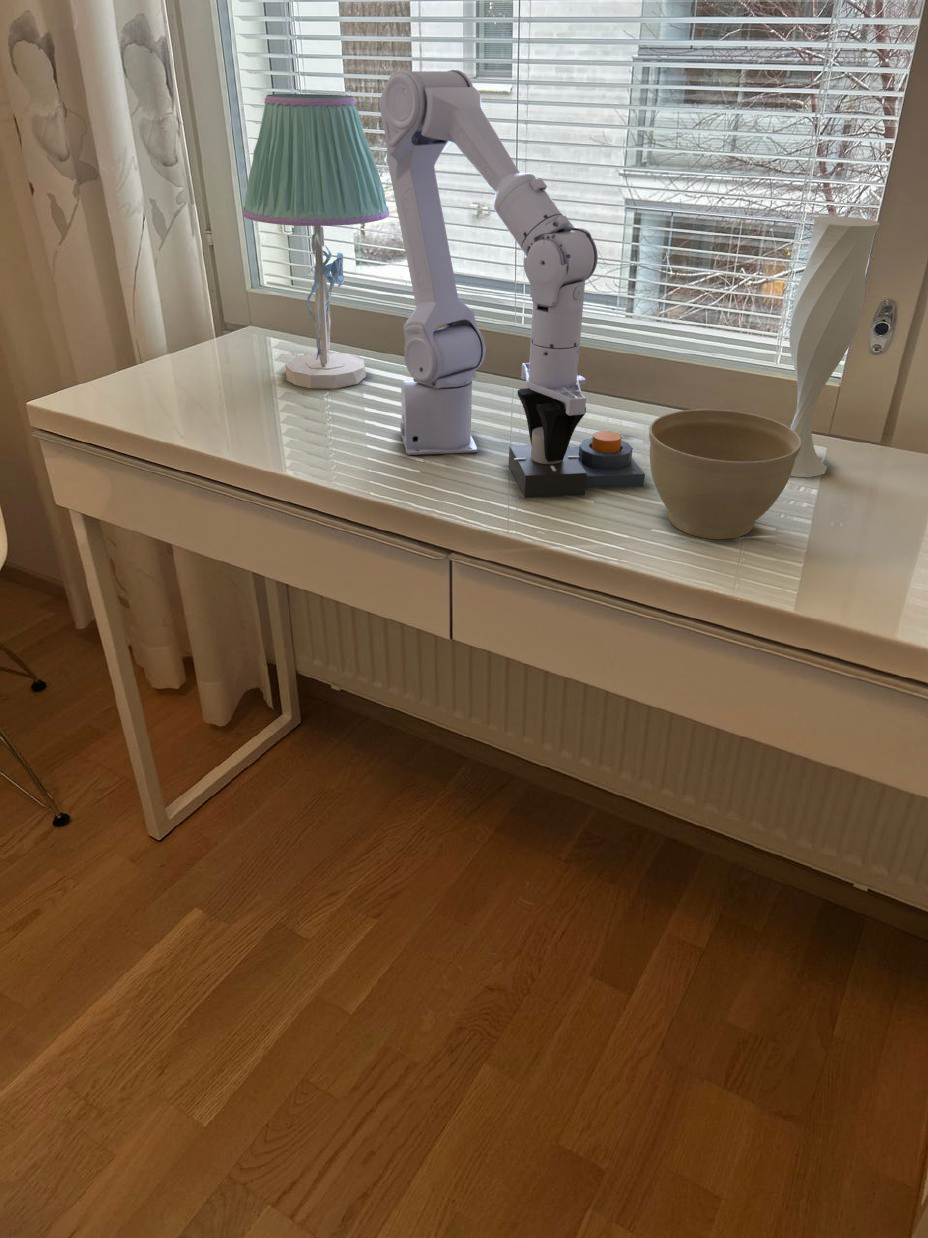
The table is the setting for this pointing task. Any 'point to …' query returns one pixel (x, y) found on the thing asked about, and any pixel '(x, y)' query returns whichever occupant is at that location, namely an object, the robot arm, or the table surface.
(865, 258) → the vase
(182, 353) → the table surface
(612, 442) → the button
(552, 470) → the dial panel
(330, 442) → the table surface
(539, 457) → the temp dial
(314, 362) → the table lamp
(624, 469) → the button base
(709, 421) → the planter bowl
